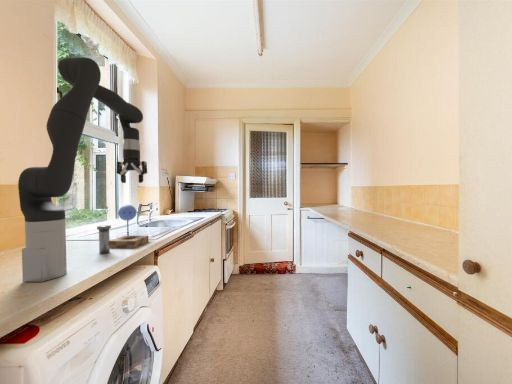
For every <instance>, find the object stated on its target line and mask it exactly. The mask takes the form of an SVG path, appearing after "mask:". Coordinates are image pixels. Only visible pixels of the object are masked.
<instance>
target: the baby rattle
mask: <svg viewBox="0 0 512 384" xmlns="http://www.w3.org/2000/svg"><path fill="white" fill-rule="evenodd" d="M117 214H118V217H119V219H121V220H122V221H126V228H127V229H126V231H127V232H126V236H130V232H129V221H132V220H133V219H135V217H136V216H137V208H135V206H134V205H132V204H124V205H122V206H121V207H120V208H119V209H118V212H117Z"/></svg>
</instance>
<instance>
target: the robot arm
mask: <svg viewBox="0 0 512 384" xmlns="http://www.w3.org/2000/svg"><path fill="white" fill-rule="evenodd" d="M57 67H58V73H59V75H60V76H61V78H62V79H63V80H64V81H65V83H67V84H69V85H70V86H72V87H71V88H70V90H69V91H68V92H66V94H64V95H63V96H62V97H61V98H60V99H58V101H56V102H55V104H54V105H53V106H52V108H51V109H50V110H51V111H50V113H49V116H48V119H47V122H46V125H45V126H46V127H45V128H46V132H47V135H48V138H49V140H50V143H51V145H52V153H51V158H50V161H49V162H48V165H47V166H31V167H27V168H25V169H23V171H21V173H20V175H19V177H18V182H17V183H18V184H17V187H18V188H17V189H18V198H19V199H18V200H19V207H20V211H21V213H22V215H23V217H24V234H25V235H24V239H25V240H24V241H25V242H24V243H25V244H24V245H25V247H23V248H22V249H21V268H22V269H21V270H22V271H21V272H22V282H25V283H26V282H27V283H28V282H31V283H34V282H35V283H43V282H45V281H49V280H53V279H57V278H60V277H62V276H64V275H66V274H67V271H68V269H67V265H68V264H67V262H68V261H67V235H66V233H67V231H66V210H64V208H61V207H59V206H57V205H55V203H53V201H52V198H61V197H63V196H65V195H66V194H67V193H68V192H69V190H70V189H71V186H72V183H73V177H74V171H75V165H76V164H75V163H76V157H77V153H78V150H79V145H80V141H81V138H82V135H83V133H84V128H85V124H86V122H87V116H88V113H89V110H90V107H91V104H92V101H93V98H94V99H96V100H97V101H98V102H100V103H102V104H103V105H104V106H106V107H107V108H108V109H110V110H111V111H113V113H115V114H116V115H117V116H118V120H119V122H120V123H119V124H120V127H121V130H122V134H123V135H122V159H123V161H117V162H116V174H117V175H120V181H121V183H122V184H125V183H127V178H126V176H127V175H126V174H127V173H128V172H129V171H136V173H137V174H138V183H139V184H141V183H143V182H144V175H146V174H148V165H147V164H148V163H147V161H143V160H142V161H141V144H140V131H139V129H138V128H135V127H131V124H140V123H142V122H143V119H144V115H143V112H142V111H141V109H139V108H138V107H137V106H135V105H133V104H132V103H130V102H127V101H126V100H125V99H124V98H122V97H121V96H120V94H118V93H116V92H115V91H114V90H112V89H109V88H107V87H105V86H103V85H101V84H100V83H101V78H102V77H101V75H102V74H101V73H102V72H101V68H100V66H99V64H97V62H96V61H95V60H94V59H93V58H90V57H84V56H79V57H65V58H62V59H61V60H60V61H59V62H58V65H57ZM140 166H141V167H140Z"/></svg>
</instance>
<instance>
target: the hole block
mask: <svg viewBox="0 0 512 384" xmlns="http://www.w3.org/2000/svg"><path fill="white" fill-rule="evenodd" d="M109 241H110V248H111V249H115V248H116V249H136V248H138V247H140V246H142V245H144V243H145V244H146V242H147V243H149V242H148V241H150V239H149V235H129V236H127V235H123V236H119V237H116V238H113V239H111V240H110V239H109Z"/></svg>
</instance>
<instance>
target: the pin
mask: <svg viewBox="0 0 512 384" xmlns="http://www.w3.org/2000/svg"><path fill="white" fill-rule="evenodd" d="M111 229H112V226H111V225H108V224H107V225H99V226H97V227H96V230H98V241H99V242H98V247H99V248H98V249H99V251H98V253H99V254H100V255H106V254H109V253H110V251H111V249H110V230H111ZM99 254H98V255H99Z"/></svg>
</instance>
